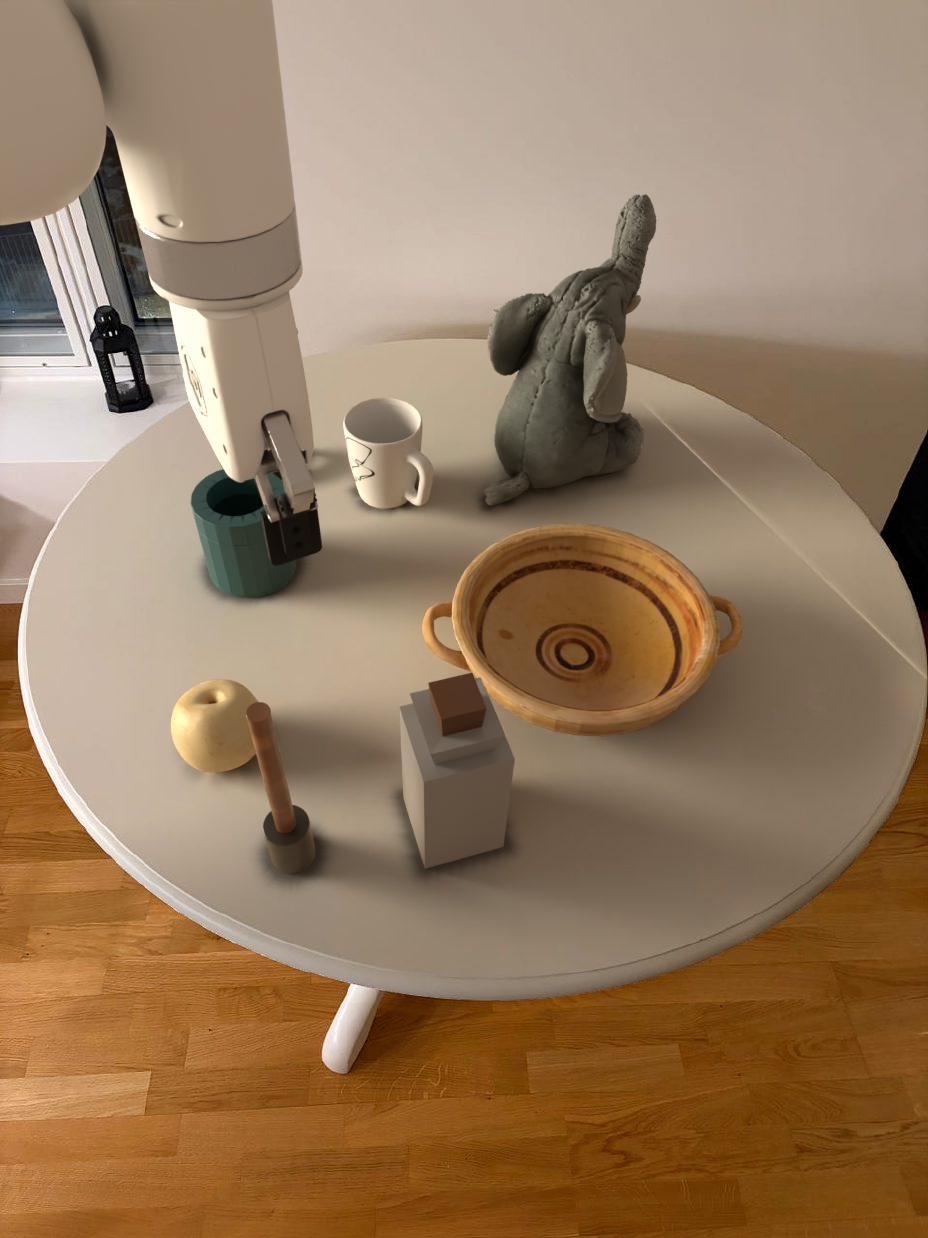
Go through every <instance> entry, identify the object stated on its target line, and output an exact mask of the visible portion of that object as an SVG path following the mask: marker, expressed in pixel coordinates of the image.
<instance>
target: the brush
mask: <svg viewBox="0 0 928 1238" xmlns="http://www.w3.org/2000/svg"><path fill="white" fill-rule="evenodd" d="M246 718H247V722H248V725H249V729H250V733H251V736H252V740H253V744H254V748H255V751H256V754H255V756H256V758H257V763H258V765H259V770H260V773H261V777H262V782H263V785H264V788H265V792H266V796H267V800H268V804H269V807H270V811H269V812H268V813H267V814H266V815H265V818H264V820H263V822H262V833H263V836H264V840H265V843H266V847H267V850H268V853H269V857H270V860H271V863H272V865H273V867H274V868H275V869H276V871H278V872H280V873H281V874H286V875H296V874H300V873H303V872H304V871H306V870H307V869H308V868H310V866H311V865H312V864H313V862H314V860H315V857H316V845H315V840H314V836H313V831H312V826H311V821H310V818H309V815H308V813H307V812H306V810H304V808H302V807H300V806H298V805H295V804H293V802H292V797H291V794H290V789H289V785H288V779H287V775H286V771H285V766H284V763H283V759H282V758H283V757H282V754H281V749H280V746H279V745H280V744H279V741H278V736H277V731H276V728H275V724H274V719H273V714H272V710H271V707H270V705H268V704H267V703H266V702H262V701H258V702H256V703H253V704H251V705H250V706H249V707H248V708H247V710H246Z"/></svg>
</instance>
